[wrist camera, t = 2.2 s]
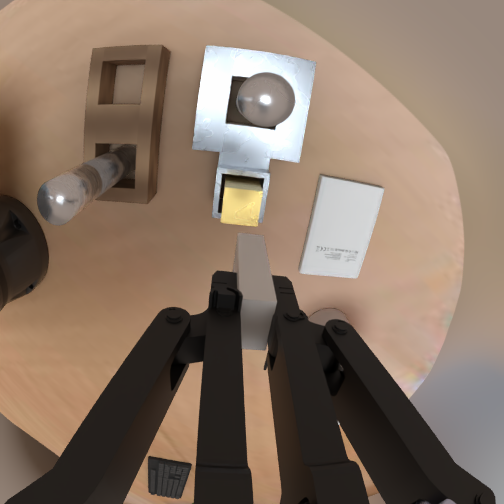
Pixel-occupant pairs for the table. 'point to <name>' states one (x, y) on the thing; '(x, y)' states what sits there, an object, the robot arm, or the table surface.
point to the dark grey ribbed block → (167, 477)
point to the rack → (127, 116)
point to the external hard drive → (340, 227)
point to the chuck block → (248, 135)
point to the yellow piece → (241, 200)
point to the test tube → (84, 184)
